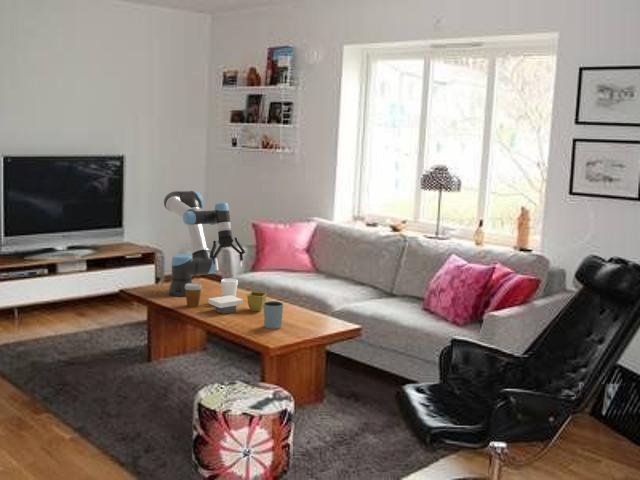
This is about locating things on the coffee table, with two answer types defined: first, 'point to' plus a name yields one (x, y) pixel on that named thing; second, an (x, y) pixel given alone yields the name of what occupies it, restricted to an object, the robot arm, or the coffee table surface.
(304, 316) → the coffee table surface
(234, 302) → the lid
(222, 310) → the stand
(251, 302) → the flower pot
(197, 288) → the disposable coffee cup
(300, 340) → the coffee table surface
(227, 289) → the foam cup
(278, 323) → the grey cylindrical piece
